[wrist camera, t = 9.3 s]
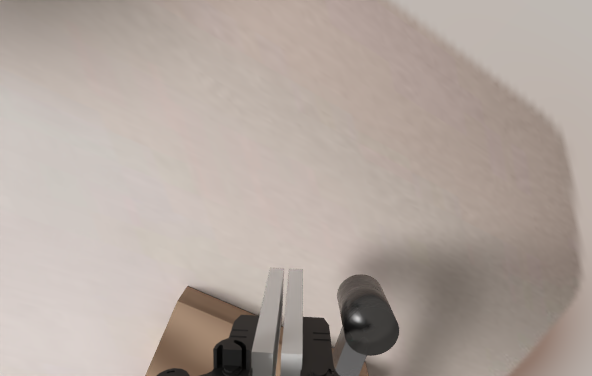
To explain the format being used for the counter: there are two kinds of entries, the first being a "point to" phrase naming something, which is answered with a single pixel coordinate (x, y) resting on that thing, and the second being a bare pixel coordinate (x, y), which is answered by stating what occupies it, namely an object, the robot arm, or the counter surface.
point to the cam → (362, 324)
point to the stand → (199, 335)
